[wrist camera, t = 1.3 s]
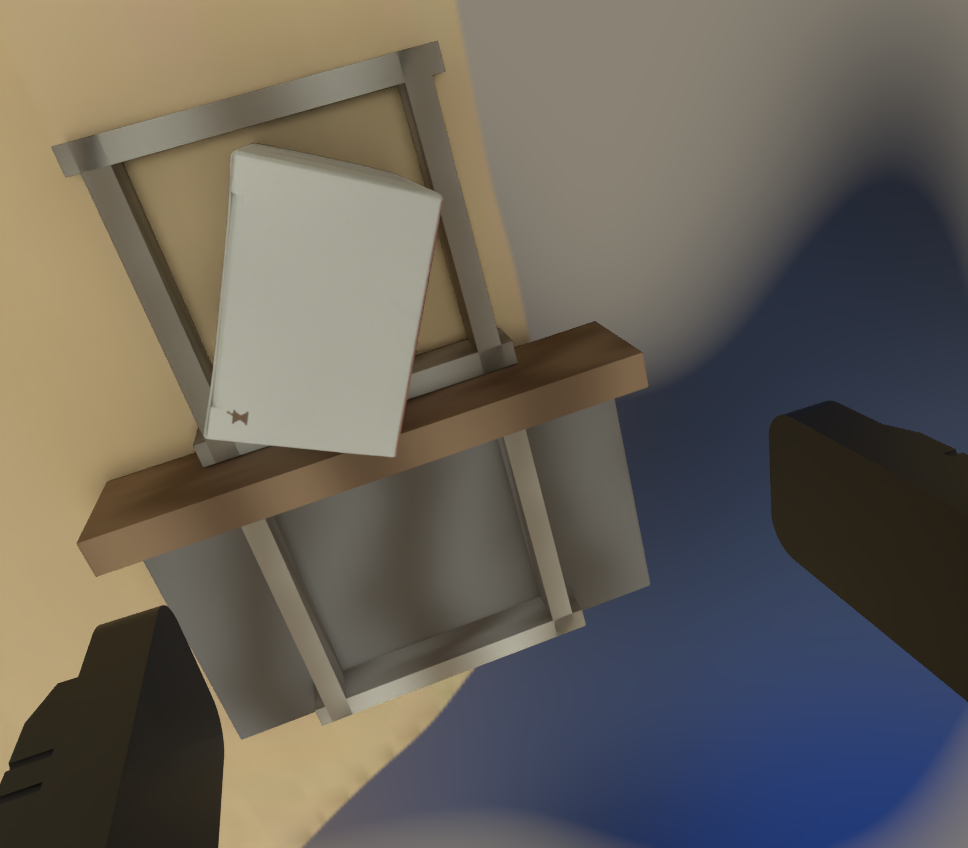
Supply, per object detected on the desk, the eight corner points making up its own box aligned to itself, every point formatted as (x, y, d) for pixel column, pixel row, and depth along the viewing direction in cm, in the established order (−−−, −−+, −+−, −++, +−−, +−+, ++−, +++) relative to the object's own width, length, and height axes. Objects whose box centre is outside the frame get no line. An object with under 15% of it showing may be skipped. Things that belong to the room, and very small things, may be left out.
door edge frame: (535, 16, 28) (582, -4, 24) (645, 578, 40) (691, 637, 35) (-59, 179, 26) (-131, 191, 21) (242, 730, 37) (236, 814, 33)
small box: (364, 363, 32) (398, 467, 22) (227, 344, 30) (199, 447, 21) (397, 170, 29) (451, 194, 20) (249, 137, 28) (230, 147, 18)
